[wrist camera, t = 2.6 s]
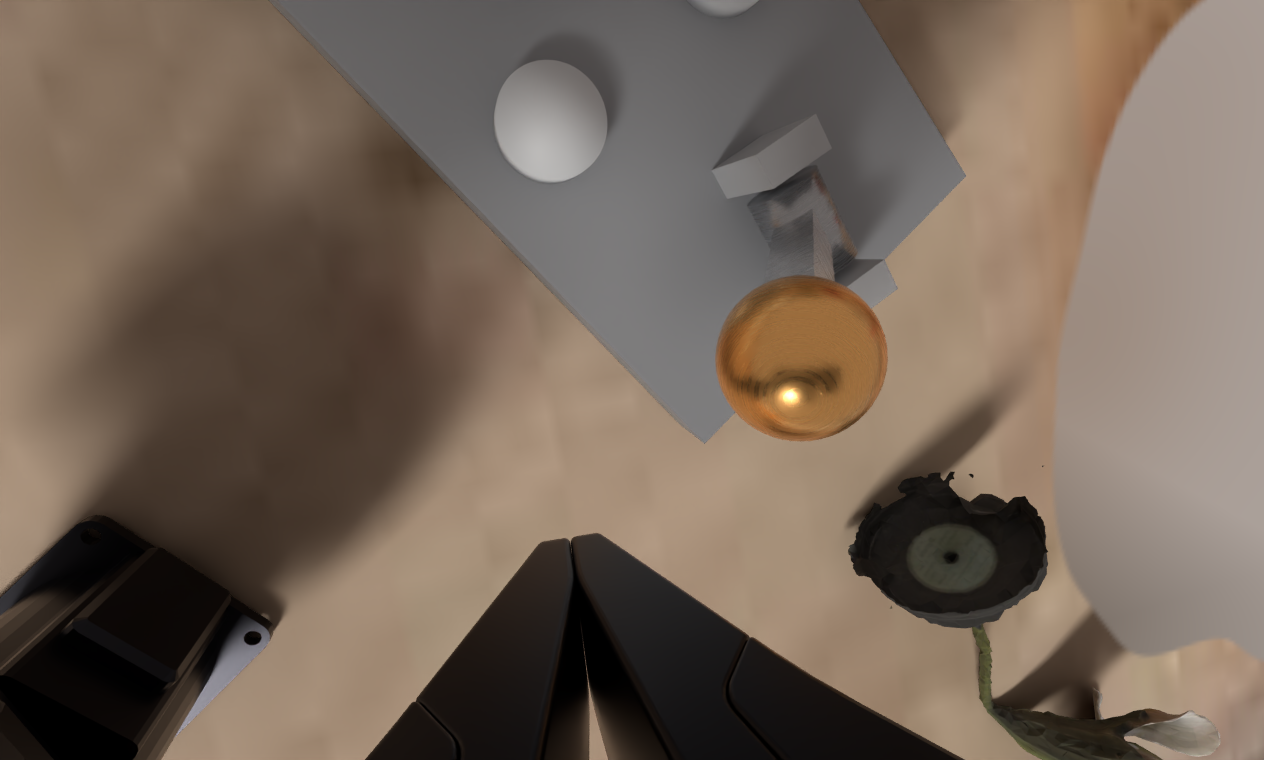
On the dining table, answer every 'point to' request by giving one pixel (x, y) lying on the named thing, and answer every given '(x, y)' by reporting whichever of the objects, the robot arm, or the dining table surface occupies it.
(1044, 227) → the dining table surface
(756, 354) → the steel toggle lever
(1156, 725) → the artificial flower
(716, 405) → the switch panel
